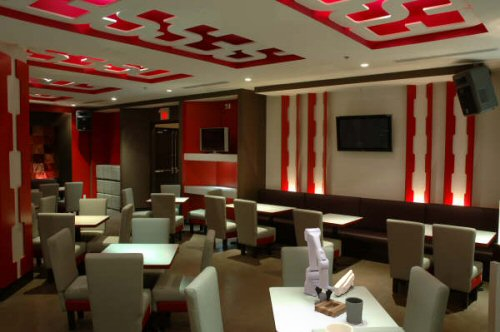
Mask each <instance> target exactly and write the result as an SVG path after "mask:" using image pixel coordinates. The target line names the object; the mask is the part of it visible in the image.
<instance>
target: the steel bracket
mask: <svg viewBox="0 0 500 332" xmlns="http://www.w3.org/2000/svg"><path fill="white" fill-rule="evenodd" d="M326 300H327V298H326V292H323V291H322V292H320V293H319V298H318V301H317V302H314V306H315V305H317V304H319V303H321V302H324V301H326Z"/></svg>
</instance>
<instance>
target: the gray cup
mask: <svg viewBox="0 0 500 332" xmlns="http://www.w3.org/2000/svg"><path fill="white" fill-rule="evenodd" d="M344 302H345V304H346V311H345V313H346V315H345V316H346V321H347V322H348V323H349V324H355V325H357V324H361V323H362V322H363V310H364V299H362V298H360V297H356V296H348V297H346V298H345V300H344Z"/></svg>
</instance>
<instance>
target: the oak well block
mask: <svg viewBox="0 0 500 332" xmlns="http://www.w3.org/2000/svg"><path fill="white" fill-rule="evenodd" d="M314 311H315V312H316V313H317V312H318V313H321V314H323V315H325V316H328V317H332V318H337V317H338V316H340V315H342V314H343V313H346V304H345V303H344V302H342V301H339V300H335V299H332V298H330V300H329V301H327V300H326V301H324V302H321V303H319V304H317V305H315V304H314Z"/></svg>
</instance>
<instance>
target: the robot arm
mask: <svg viewBox="0 0 500 332" xmlns="http://www.w3.org/2000/svg"><path fill="white" fill-rule="evenodd" d="M303 234H304V241H306V243H307V251H308V252H307V253H308V264H309V266H308V267H307V268H306V269H305V281H304V286H303V288H304V290H303V293H304V294H307V295H309V296H312V297H316V296H317V299H319V293H320V292H323V290H325V292H324V293H326V298H327V301H329V300H330V299H331V296H332V294H333V293H334V286H333V287H332V286H330V285H329V270H330V268H331V263H330V260H329V259H328V258H327V255H326V252H325V249H323V248H322V243H321V237H322V236H321V235H322V232H321V229H320V228H319V227H316V228H313V227H312V228H305V229H304V232H303Z"/></svg>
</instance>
